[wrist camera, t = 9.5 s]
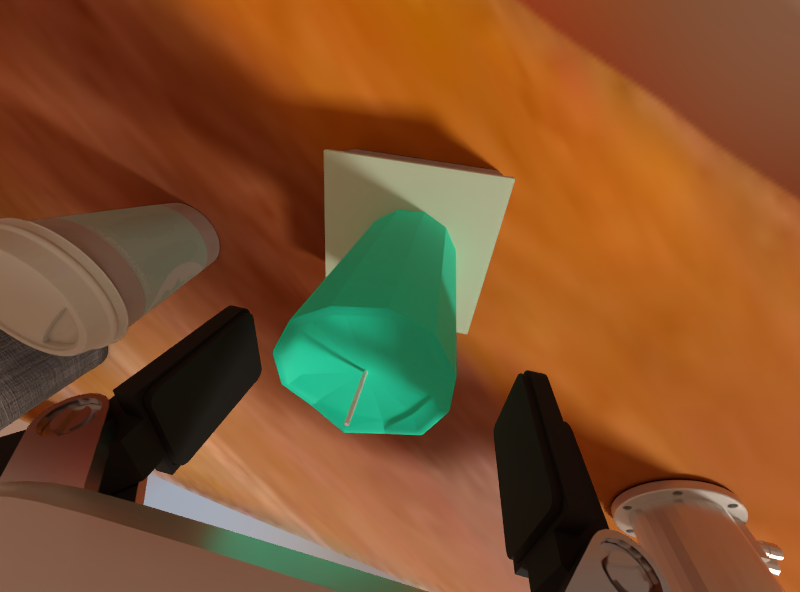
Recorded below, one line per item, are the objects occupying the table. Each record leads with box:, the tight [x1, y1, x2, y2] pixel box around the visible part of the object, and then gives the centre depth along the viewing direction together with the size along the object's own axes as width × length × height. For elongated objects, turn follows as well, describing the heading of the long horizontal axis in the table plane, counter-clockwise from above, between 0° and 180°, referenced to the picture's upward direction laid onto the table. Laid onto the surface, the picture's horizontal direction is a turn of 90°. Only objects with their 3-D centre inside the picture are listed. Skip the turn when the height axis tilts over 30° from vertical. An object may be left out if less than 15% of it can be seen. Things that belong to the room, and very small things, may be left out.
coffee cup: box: [0, 203, 220, 356], centre depth 21 cm, size 8×8×12 cm
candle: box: [272, 210, 457, 435], centre depth 13 cm, size 6×6×12 cm
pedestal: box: [324, 149, 515, 334], centre depth 20 cm, size 10×10×5 cm
